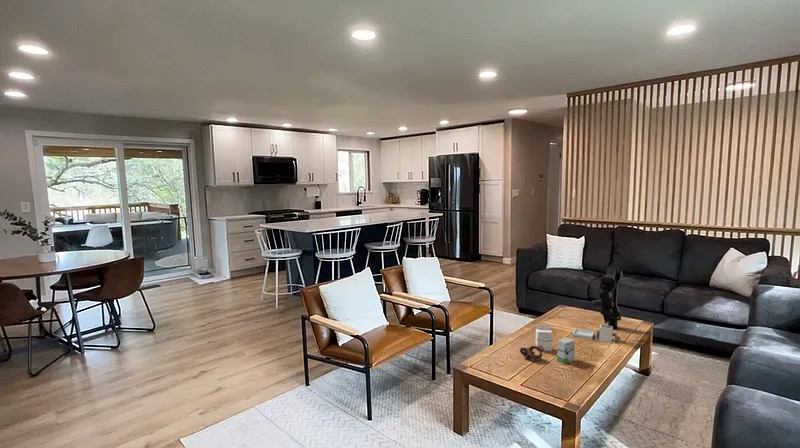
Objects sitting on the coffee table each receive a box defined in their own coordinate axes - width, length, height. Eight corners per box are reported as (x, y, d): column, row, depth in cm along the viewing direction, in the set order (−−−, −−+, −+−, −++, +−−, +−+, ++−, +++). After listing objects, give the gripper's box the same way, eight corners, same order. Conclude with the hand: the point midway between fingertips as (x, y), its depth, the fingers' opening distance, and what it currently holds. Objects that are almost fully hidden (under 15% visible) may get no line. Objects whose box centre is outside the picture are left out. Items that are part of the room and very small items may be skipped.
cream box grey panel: (599, 336, 258) (600, 323, 257) (612, 338, 254) (612, 325, 253) (599, 339, 253) (599, 326, 252) (611, 341, 250) (612, 328, 249)
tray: (574, 331, 268) (574, 328, 267) (594, 334, 261) (594, 331, 261) (572, 336, 259) (572, 333, 259) (592, 339, 253) (592, 336, 253)
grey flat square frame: (596, 333, 263) (597, 330, 263) (617, 336, 257) (617, 333, 257) (594, 339, 253) (594, 336, 253) (615, 343, 247) (615, 340, 246)
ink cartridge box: (537, 350, 238) (537, 326, 237) (535, 347, 243) (535, 323, 242) (552, 351, 237) (552, 327, 236) (549, 347, 242) (550, 324, 241)
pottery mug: (538, 355, 233) (543, 346, 228) (538, 369, 226) (543, 360, 221) (517, 349, 235) (522, 340, 230) (517, 362, 228) (521, 353, 223)
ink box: (564, 363, 221) (564, 343, 220) (556, 360, 226) (557, 340, 224) (574, 360, 225) (575, 339, 224) (567, 357, 230) (568, 336, 228)
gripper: (594, 291, 262) (593, 314, 264) (591, 299, 247) (590, 323, 248) (614, 293, 257) (613, 317, 259) (612, 301, 241) (611, 326, 243)
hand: (606, 321), depth 252 cm, fingers open, 9 cm apart
